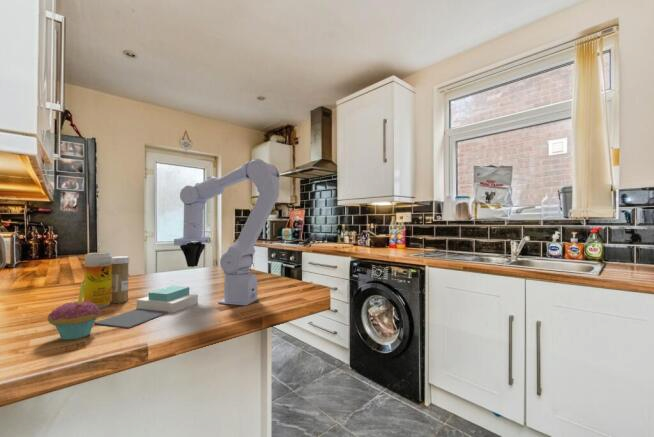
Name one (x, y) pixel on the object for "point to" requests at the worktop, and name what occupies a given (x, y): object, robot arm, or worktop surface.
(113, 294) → the sprinkles bottle
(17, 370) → the worktop surface
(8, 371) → the worktop surface
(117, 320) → the mat
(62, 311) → the cupcake
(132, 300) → the worktop surface
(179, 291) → the teal rectangular block
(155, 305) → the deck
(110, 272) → the beer can
